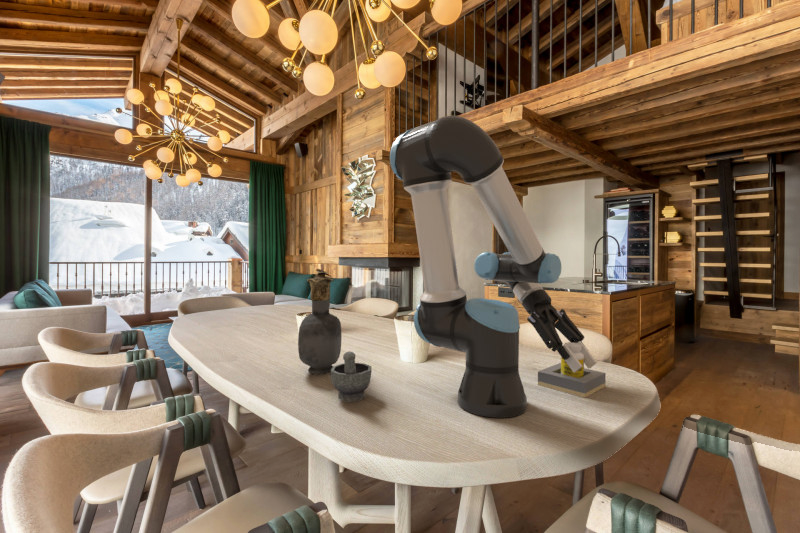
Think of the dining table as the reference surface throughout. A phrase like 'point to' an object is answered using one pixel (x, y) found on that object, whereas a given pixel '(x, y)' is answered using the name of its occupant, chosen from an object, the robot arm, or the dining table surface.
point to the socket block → (571, 381)
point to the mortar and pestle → (351, 378)
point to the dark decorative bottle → (320, 329)
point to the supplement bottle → (580, 357)
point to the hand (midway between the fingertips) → (585, 367)
